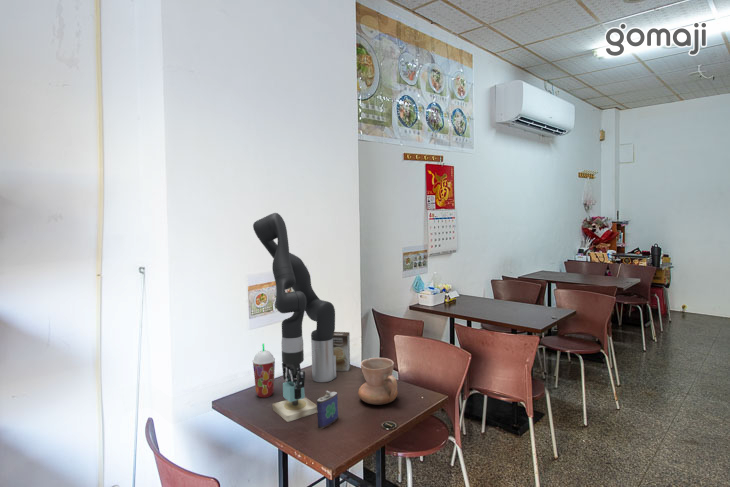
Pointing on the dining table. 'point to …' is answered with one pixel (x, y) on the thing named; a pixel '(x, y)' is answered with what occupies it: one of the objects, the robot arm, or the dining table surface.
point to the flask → (327, 409)
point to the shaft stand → (295, 409)
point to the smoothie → (264, 373)
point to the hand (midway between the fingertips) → (294, 395)
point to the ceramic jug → (378, 381)
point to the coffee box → (342, 350)
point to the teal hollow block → (291, 391)
